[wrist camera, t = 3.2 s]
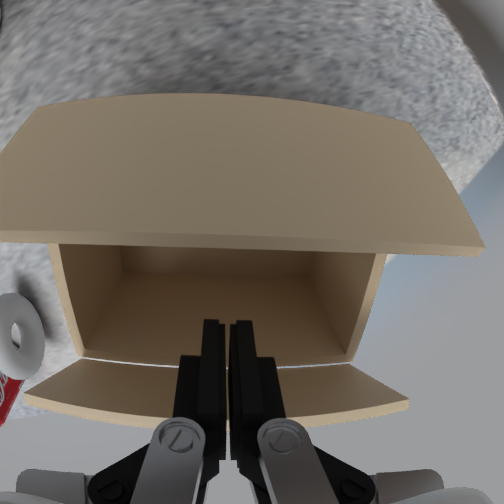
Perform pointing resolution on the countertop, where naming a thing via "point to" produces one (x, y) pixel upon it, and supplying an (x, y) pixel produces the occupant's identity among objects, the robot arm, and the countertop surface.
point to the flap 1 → (228, 178)
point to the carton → (214, 300)
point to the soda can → (8, 393)
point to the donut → (32, 337)
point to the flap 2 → (165, 379)
